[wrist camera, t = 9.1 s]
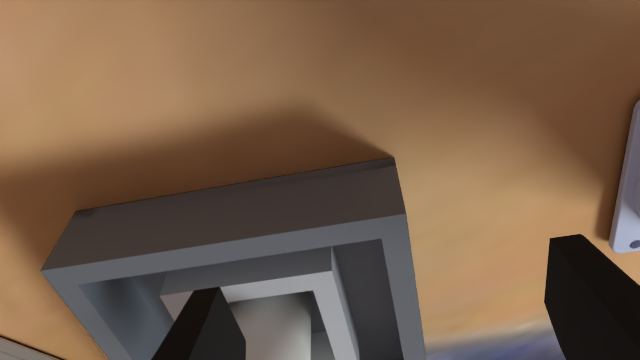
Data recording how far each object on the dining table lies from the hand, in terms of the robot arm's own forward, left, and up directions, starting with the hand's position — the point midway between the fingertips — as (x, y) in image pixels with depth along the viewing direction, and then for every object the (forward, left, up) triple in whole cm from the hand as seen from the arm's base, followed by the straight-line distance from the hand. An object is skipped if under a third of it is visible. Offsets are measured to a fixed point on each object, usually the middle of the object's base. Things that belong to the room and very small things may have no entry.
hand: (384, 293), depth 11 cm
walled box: (+6, +10, -9) cm, 15 cm away
